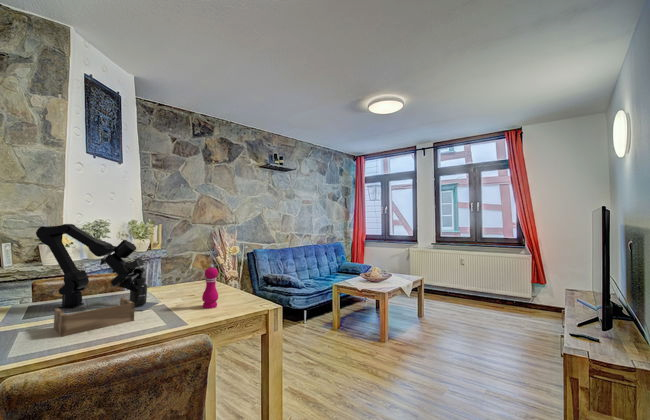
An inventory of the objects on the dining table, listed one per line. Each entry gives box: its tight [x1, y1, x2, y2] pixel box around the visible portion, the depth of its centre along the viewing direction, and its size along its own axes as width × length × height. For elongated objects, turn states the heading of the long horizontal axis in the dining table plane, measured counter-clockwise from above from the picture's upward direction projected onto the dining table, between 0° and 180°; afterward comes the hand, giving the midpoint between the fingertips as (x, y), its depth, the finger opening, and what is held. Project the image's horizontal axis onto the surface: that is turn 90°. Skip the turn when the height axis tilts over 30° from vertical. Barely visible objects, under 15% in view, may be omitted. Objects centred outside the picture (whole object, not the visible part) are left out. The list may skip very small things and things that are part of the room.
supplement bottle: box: [128, 276, 148, 306], centre depth 140 cm, size 7×7×12 cm
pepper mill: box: [201, 263, 219, 309], centre depth 144 cm, size 7×7×20 cm
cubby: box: [53, 297, 135, 337], centre depth 117 cm, size 12×22×7 cm, turn 142°
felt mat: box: [134, 301, 159, 312], centre depth 140 cm, size 12×12×1 cm
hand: (141, 289), depth 141 cm, fingers closed on supplement bottle, 7 cm apart
